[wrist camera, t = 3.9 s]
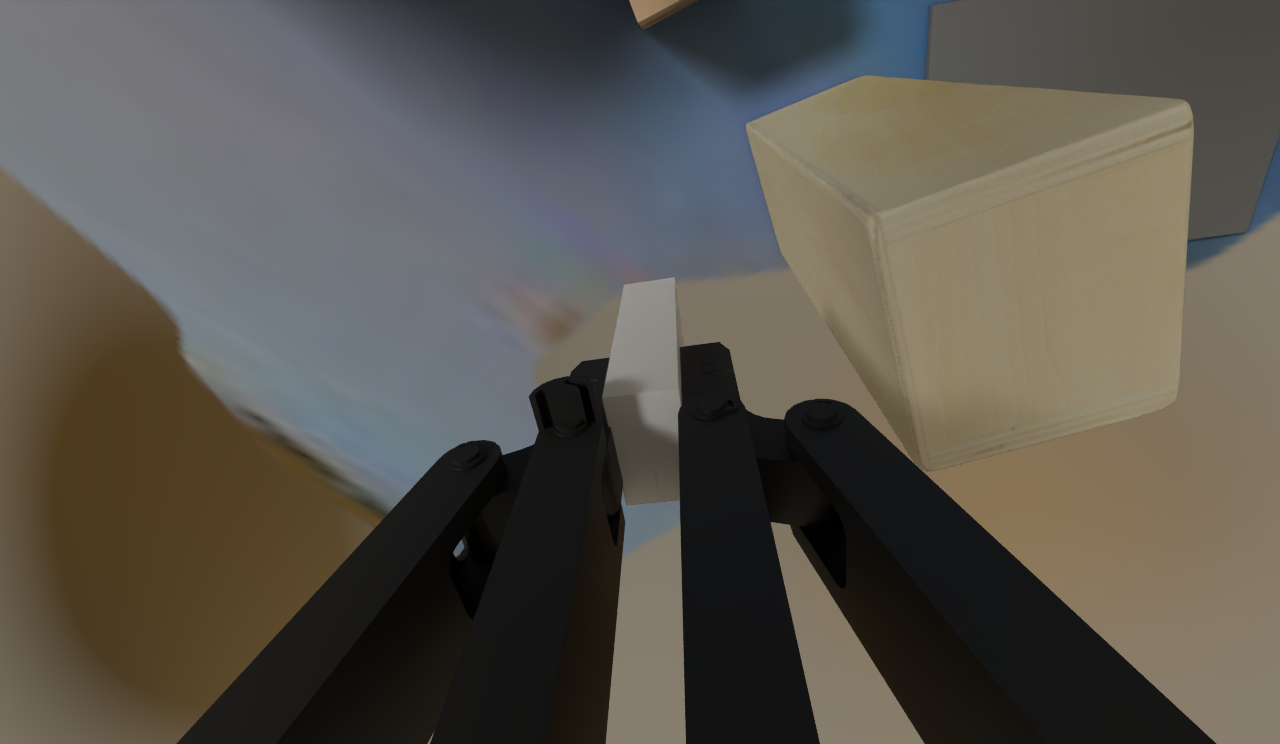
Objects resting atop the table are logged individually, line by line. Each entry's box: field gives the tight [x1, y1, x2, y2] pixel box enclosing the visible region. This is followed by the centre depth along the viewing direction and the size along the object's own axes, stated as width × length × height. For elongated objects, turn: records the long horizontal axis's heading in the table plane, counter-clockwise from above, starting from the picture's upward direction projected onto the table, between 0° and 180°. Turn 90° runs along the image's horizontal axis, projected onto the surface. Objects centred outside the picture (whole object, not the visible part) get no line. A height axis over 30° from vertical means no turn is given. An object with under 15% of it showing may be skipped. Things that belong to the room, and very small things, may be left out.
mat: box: [925, 0, 1280, 240], centre depth 30 cm, size 18×14×1 cm
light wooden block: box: [746, 75, 1194, 471], centre depth 23 cm, size 8×7×21 cm
